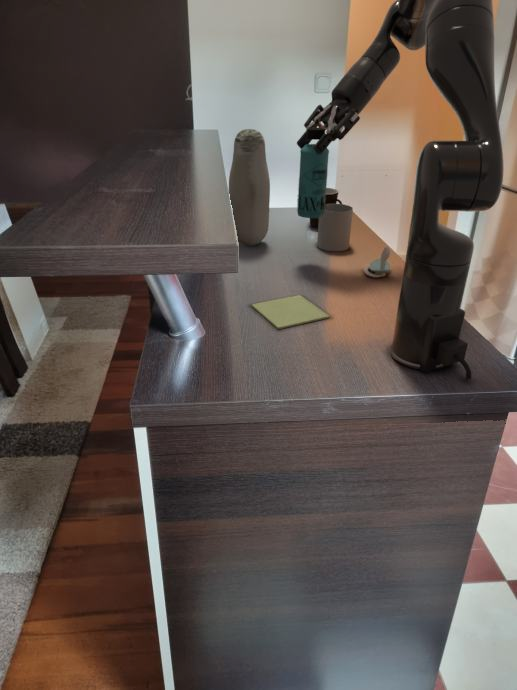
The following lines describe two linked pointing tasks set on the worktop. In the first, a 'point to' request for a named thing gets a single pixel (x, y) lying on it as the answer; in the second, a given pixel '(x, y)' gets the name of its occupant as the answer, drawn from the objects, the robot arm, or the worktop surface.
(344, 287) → the worktop surface
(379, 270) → the pacifier
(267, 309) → the pad
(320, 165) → the beverage bottle
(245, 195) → the grey rounded tall figure
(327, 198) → the coffee mug
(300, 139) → the robot arm
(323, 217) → the cup
